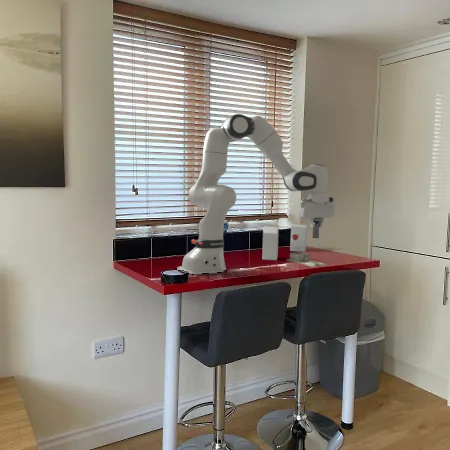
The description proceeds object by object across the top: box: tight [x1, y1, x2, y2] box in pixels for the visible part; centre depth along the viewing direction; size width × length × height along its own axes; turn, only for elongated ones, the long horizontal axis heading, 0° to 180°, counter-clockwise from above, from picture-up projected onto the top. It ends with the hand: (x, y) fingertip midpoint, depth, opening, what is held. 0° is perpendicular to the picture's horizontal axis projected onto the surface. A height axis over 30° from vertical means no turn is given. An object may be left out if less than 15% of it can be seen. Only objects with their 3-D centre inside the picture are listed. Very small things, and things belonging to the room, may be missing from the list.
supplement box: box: [289, 223, 308, 253], centre depth 266 cm, size 9×9×15 cm
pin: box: [311, 218, 322, 239], centre depth 216 cm, size 6×6×10 cm
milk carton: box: [261, 223, 279, 261], centre depth 230 cm, size 7×7×19 cm
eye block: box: [286, 251, 329, 268], centre depth 223 cm, size 11×19×5 cm, turn 34°
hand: (316, 227), depth 216 cm, fingers closed on pin, 3 cm apart
